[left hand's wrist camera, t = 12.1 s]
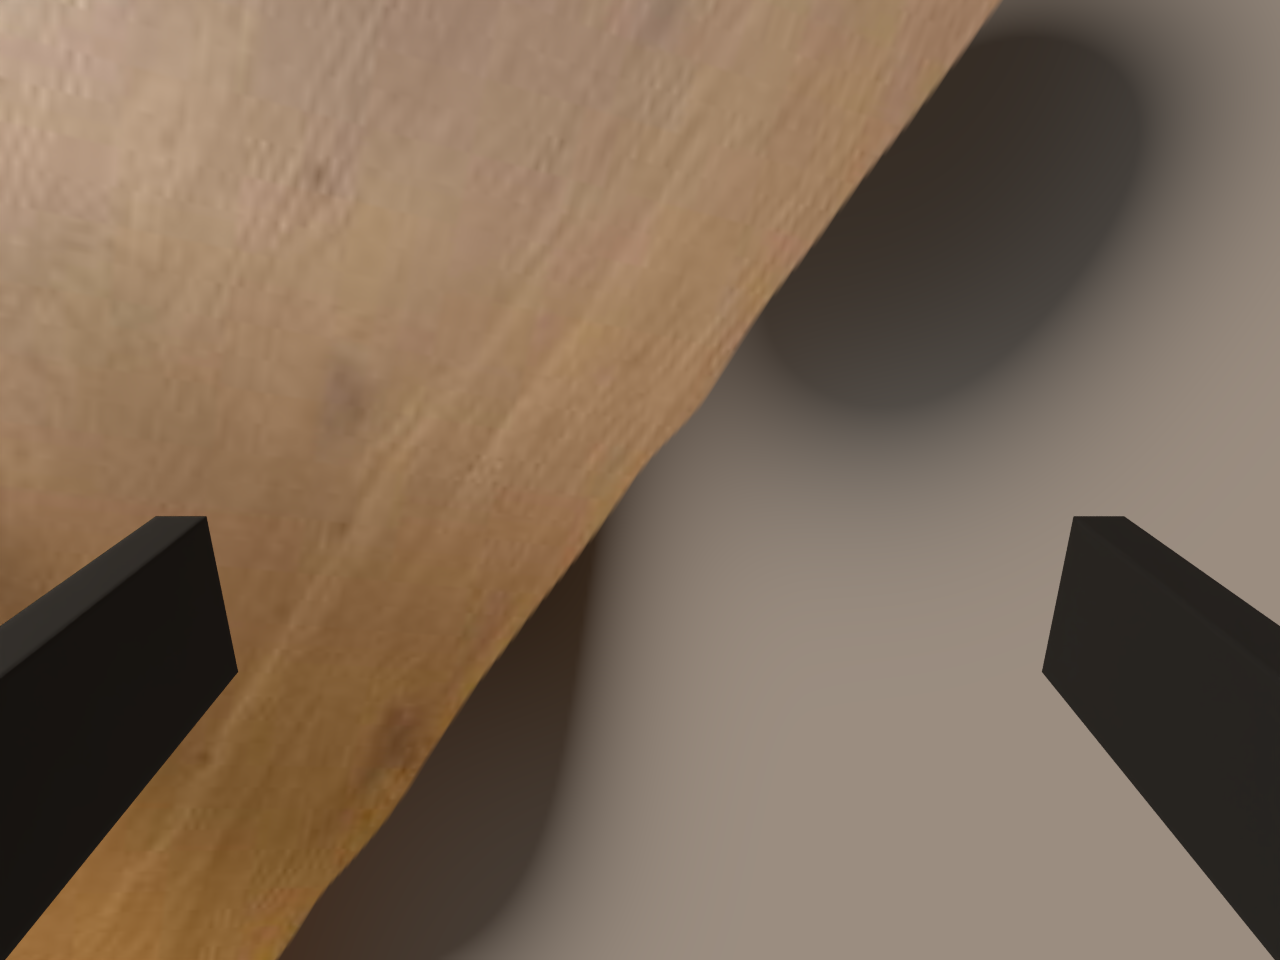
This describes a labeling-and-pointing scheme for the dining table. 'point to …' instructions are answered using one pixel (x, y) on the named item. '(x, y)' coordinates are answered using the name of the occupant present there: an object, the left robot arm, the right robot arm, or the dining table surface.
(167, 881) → the dining table surface
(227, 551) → the dining table surface
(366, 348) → the dining table surface
